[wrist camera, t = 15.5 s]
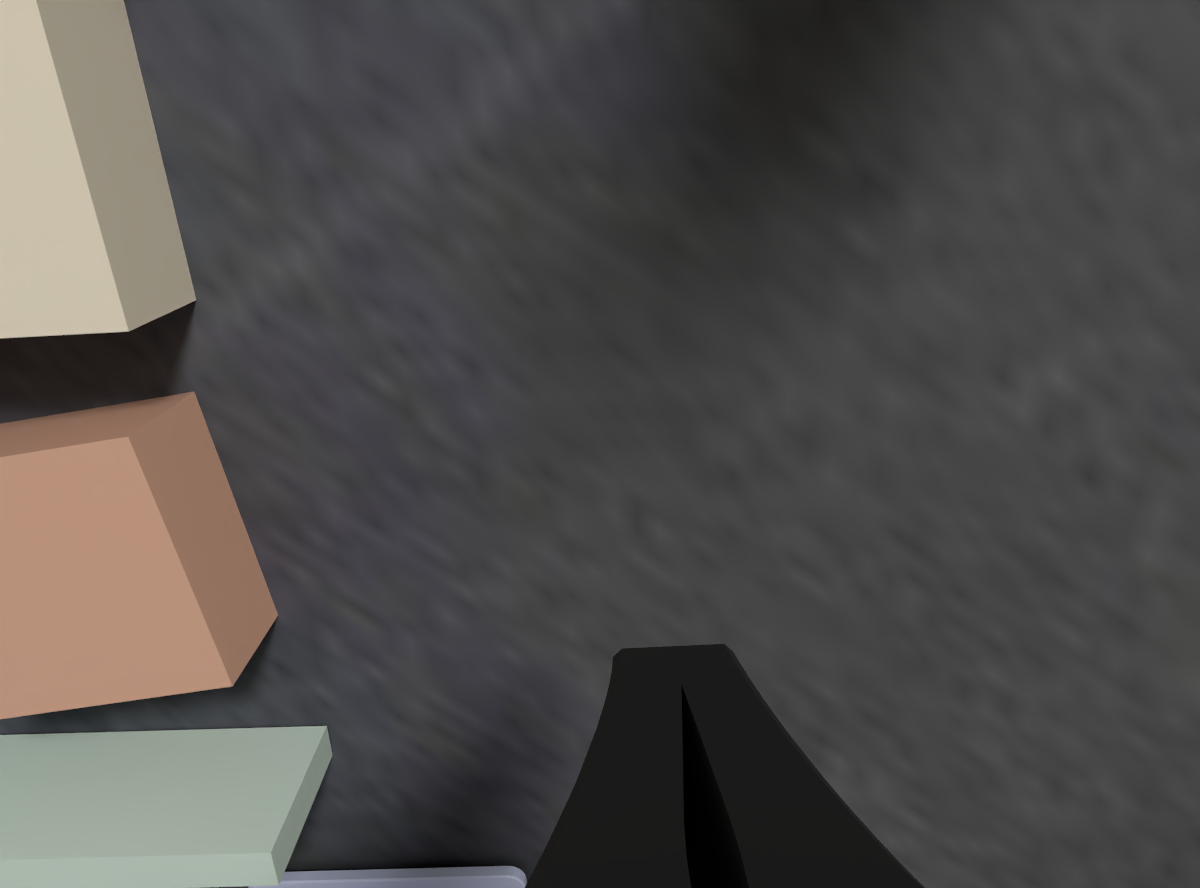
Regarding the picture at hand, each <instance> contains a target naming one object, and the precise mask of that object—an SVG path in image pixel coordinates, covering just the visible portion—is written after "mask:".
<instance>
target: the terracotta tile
mask: <svg viewBox="0 0 1200 888" xmlns="http://www.w3.org/2000/svg"><path fill="white" fill-rule="evenodd" d="M277 616H278V614H277V611H276V609H275V606H274V603H273V601H272V598H271V595H270V593H269V590H268V587H267V585H266V582H265V579H264V577H263V574H262V571H261V569H260V566H259V563H258V561H257V558H256V555H255V553H254V550H253V547H252V545H251V542H250V539H249V537H248V534H247V531H246V529H245V526H244V523H243V521H242V518H241V515H240V513H239V510H238V507H237V505H236V502H235V499H234V497H233V494H232V491H231V489H230V486H229V483H228V481H227V478H226V475H225V473H224V470H223V467H222V465H221V462H220V459H219V457H218V454H217V451H216V449H215V446H214V443H213V441H212V438H211V435H210V433H209V430H208V427H207V425H206V422H205V419H204V417H203V414H202V411H201V409H200V406H199V403H198V401H197V398H196V395H195V393H194V392H189V393H183V394H177V395H171V396H165V397H159V398H153V399H147V400H141V401H134V402H128V403H122V404H116V405H110V406H104V407H98V408H92V409H86V410H80V411H74V412H68V413H62V414H56V415H50V416H44V417H38V418H32V419H26V420H20V421H14V422H7V423H1V424H0V719H5V718H12V717H19V716H26V715H33V714H40V713H47V712H55V711H62V710H69V709H76V708H83V707H90V706H97V705H104V704H111V703H118V702H125V701H132V700H139V699H147V698H154V697H161V696H168V695H175V694H182V693H189V692H196V691H203V690H210V689H217V688H224V687H231V686H233V685H234V683H235V682H236V680H237V679H238V677H239V676H240V674H241V673H242V671H243V669H244V668H245V666H246V665H247V663H248V662H249V660H250V658H251V657H252V655H253V654H254V652H255V651H256V649H257V648H258V646H259V644H260V643H261V641H262V640H263V638H264V637H265V635H266V633H267V632H268V630H269V629H270V627H271V626H272V624H273V623H274V621H275V619H276V618H277Z"/></svg>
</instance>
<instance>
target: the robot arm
mask: <svg viewBox="0 0 1200 888" xmlns="http://www.w3.org/2000/svg"><path fill="white" fill-rule="evenodd" d="M248 888H924V887H923V886H922V885H921V884H920V883H919V882H918V881H917V880H916V879H915V878H914V877H913V876H912V875H911V874H910V873H909V872H908V871H907V869H906V868H905V867H904V866H903V865H902V864H901V863H900V862H899V861H898V860H897V859H896V858H895V857H894V856H893V855H892V854H891V853H890V852H889V851H888V850H887V849H886V848H885V847H884V845H883V844H882V843H881V842H880V841H879V840H878V839H877V838H876V837H875V836H874V835H873V834H872V832H871V831H870V830H869V829H868V828H867V827H866V826H865V825H864V824H863V822H862V821H861V820H860V819H859V818H858V817H857V816H856V815H855V814H854V812H853V811H852V810H851V809H850V808H849V807H848V806H847V805H846V804H845V802H844V801H843V800H842V799H841V798H840V796H839V795H838V794H837V793H836V792H835V791H834V789H833V788H832V787H831V786H830V785H829V784H828V782H827V781H826V780H825V779H824V778H823V776H822V775H821V774H820V773H819V771H818V770H817V769H816V768H815V766H814V765H813V764H812V763H811V761H810V760H809V759H808V758H807V756H806V755H805V754H804V752H803V751H802V750H801V749H800V747H799V746H798V745H797V744H796V742H795V741H794V740H793V739H792V737H791V736H790V735H789V733H788V732H787V731H786V729H785V728H784V727H783V725H782V724H781V723H780V721H779V720H778V719H777V717H776V716H775V715H774V713H773V712H772V710H771V709H770V708H769V706H768V705H767V703H766V702H765V701H764V699H763V698H762V696H761V695H760V693H759V692H758V690H757V689H756V688H755V686H754V685H753V683H752V682H751V680H750V678H749V677H748V675H747V674H746V672H745V671H744V669H743V667H742V666H741V664H740V663H739V661H738V659H737V658H736V656H735V654H734V652H733V651H732V650H730V649H729V648H728V647H727V646H726V645H725V644H714V645H692V646H670V647H648V648H626V649H621V650H620V651H619V652H618V653H617V654H616V655H615V656H614V657H613V666H612V674H611V679H610V684H609V688H608V692H607V696H606V700H605V704H604V707H603V710H602V713H601V716H600V720H599V723H598V726H597V729H596V732H595V734H594V737H593V740H592V742H591V745H590V748H589V750H588V753H587V755H586V758H585V761H584V763H583V766H582V769H581V771H580V774H579V776H578V779H577V781H576V784H575V786H574V788H573V790H572V793H571V795H570V797H569V799H568V801H567V803H566V806H565V808H564V810H563V812H562V814H561V816H560V818H559V821H558V823H557V825H556V827H555V829H554V831H553V833H552V836H551V838H550V840H549V842H548V844H547V846H546V848H545V850H544V852H543V854H542V856H541V858H540V860H539V862H538V864H537V866H536V867H535V869H534V871H533V873H532V875H531V877H530V879H529V881H528V882H527V879H526V876H525V873H524V872H523V871H522V870H521V869H519V868H517V867H514V866H481V867H444V868H407V869H370V870H333V871H296V872H284V874H283V877H282V879H281V881H280V884H279V885H274V886H248Z"/></svg>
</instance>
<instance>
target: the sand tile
mask: <svg viewBox="0 0 1200 888" xmlns="http://www.w3.org/2000/svg"><path fill="white" fill-rule="evenodd" d="M194 301H196V297H195V293H194V289H193V285H192V281H191V277H190V273H189V268H188V264H187V260H186V256H185V252H184V248H183V244H182V240H181V235H180V231H179V227H178V223H177V219H176V215H175V211H174V207H173V202H172V198H171V194H170V190H169V186H168V182H167V178H166V173H165V169H164V165H163V161H162V157H161V153H160V149H159V145H158V140H157V136H156V132H155V128H154V124H153V120H152V116H151V112H150V107H149V103H148V99H147V95H146V91H145V87H144V83H143V79H142V74H141V70H140V66H139V62H138V58H137V54H136V50H135V46H134V41H133V37H132V33H131V29H130V25H129V21H128V17H127V12H126V8H125V4H124V0H0V338H17V337H36V336H54V335H73V334H92V333H111V332H129V331H131V330H133V329H135V328H138V327H140V326H142V325H144V324H146V323H148V322H150V321H153V320H155V319H157V318H159V317H161V316H163V315H166V314H168V313H170V312H172V311H174V310H176V309H178V308H181V307H183V306H185V305H187V304H189V303H191V302H194Z"/></svg>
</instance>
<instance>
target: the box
mask: <svg viewBox="0 0 1200 888" xmlns="http://www.w3.org/2000/svg"><path fill="white" fill-rule="evenodd" d="M331 758H332V750H331V745H330V740H329V735H328V729H327V726H308V727H272V728H237V729H201V730H165V731H130V732H94V733H59V734H23V735H0V888H199V887H236V886H274V885H279V884H280V881H281V879H282V877H283V874H284V872H285V869H286V867H287V865H288V862H289V860H290V857H291V855H292V852H293V850H294V848H295V845H296V843H297V840H298V838H299V835H300V833H301V831H302V828H303V826H304V823H305V821H306V818H307V816H308V814H309V811H310V809H311V806H312V804H313V802H314V799H315V797H316V794H317V792H318V789H319V787H320V785H321V782H322V780H323V777H324V775H325V772H326V770H327V768H328V765H329V763H330V760H331Z"/></svg>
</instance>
